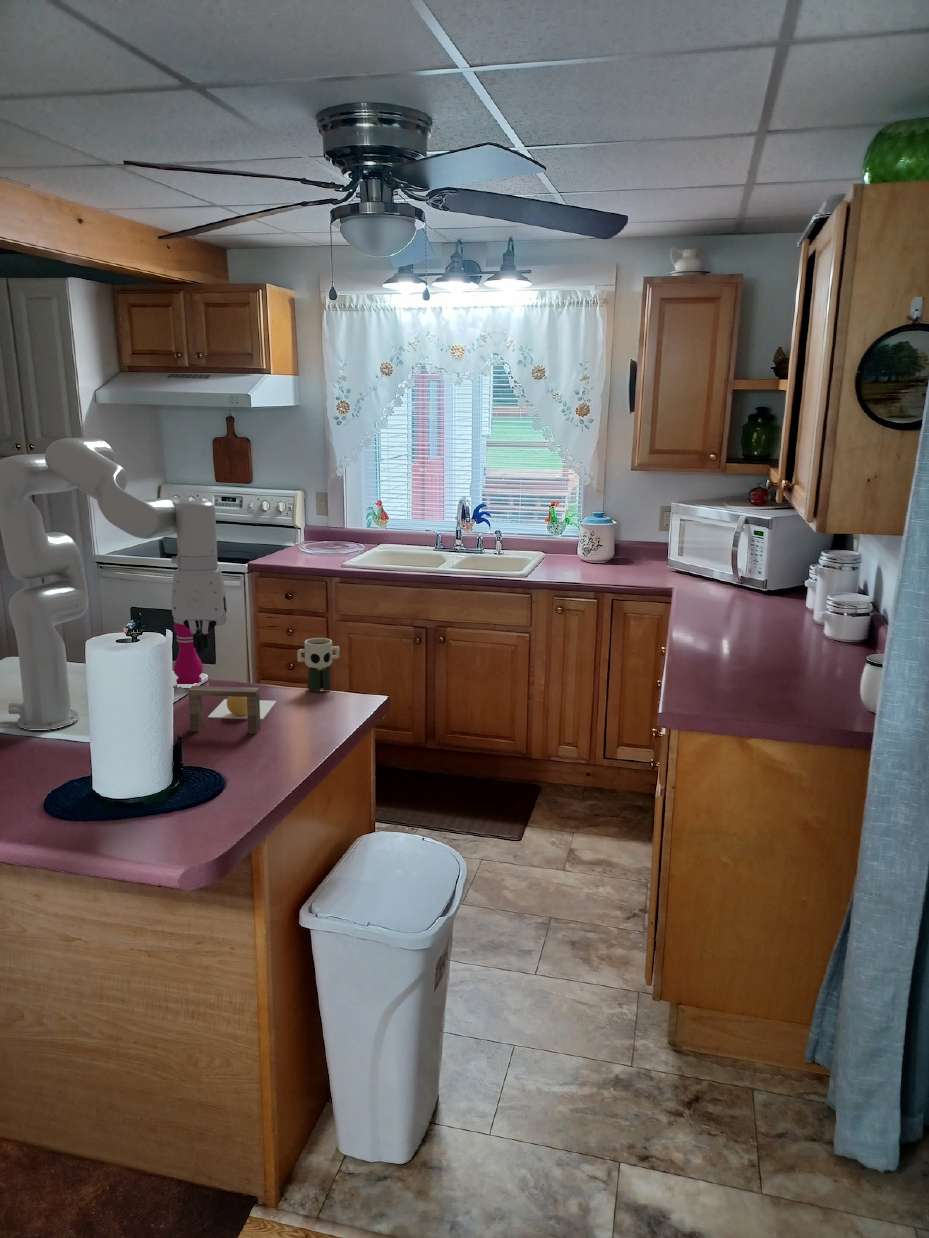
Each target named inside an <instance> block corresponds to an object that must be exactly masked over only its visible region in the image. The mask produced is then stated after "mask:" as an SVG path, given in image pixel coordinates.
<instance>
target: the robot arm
mask: <svg viewBox="0 0 929 1238" xmlns="http://www.w3.org/2000/svg"><path fill="white" fill-rule="evenodd" d="M127 484H128V474H127V471H126V469H125V468H124V467H123V466H121V465H120V464H118V463H116V455H115V453H114V450H113V448H112V447H111V446H110V445H109V444H108V443H107V442H106V441H104V440H103V439H102V438H101V439H100V438H98V437H65V438H59V439H58V440H55V441H53V442H51V443H50V445H48V446H47V449H46V450H45V453H31V454H30V453H29V454H18V455H11V456H8V457H5V458H2V459H0V534H1V540H2V544H3V549H4V554H5V558H6V562H7V566H8V569H9V572H10V573H11V575H12V576H13V577H14V578H16V579H18V580H21V581H30V580H31V581H32V580H37V579H43V578H46V577H47V578H48V577H49V580H50V581H49V582H44V583H38V584H35V585H30V586H27V587H24V588H22V589H19V590H17V591H16V592H15V593H14V594H13V595H12V596H11V598H10V599H9V602H8V613H9V617H10V620H11V623H12V626H13V629H14V633H15V639H16V644H17V652H18V662H19V669H20V670H19V671H20V681H21V691H22V693H21V694H22V701H23V703H19V702H10V703H9V704H8V708H7V709H8V710H7V711H8V714H10V715H16V714H17V715H19V718H18V719H17V726H18V725H19V726H21V727H23V728H26V729H52V728H57V727H60V726H66V725H68V724H70V723H71V722H74V721H75V720H76V719H78V717H79V718H80V716H79V713H78V711H76V710H74V709H71V697H70V686H69V685H70V684H69V674H68V661H67V653H66V651H67V650H66V644H65V642H64V640H63V639H64V638H63V637H62V636H61V634H60V633H59V632H58V630H57V628H56V626H57V625H59V624H63V623H67V622H70V621H74V620H77V619H79V618H81V617H82V616H84V615H85V614H86V612H87V610H88V608H89V601H90V600H89V599H90V597H89V592H88V586H87V580H86V575H85V568H84V565H83V560H82V555H81V551H80V548H79V547H78V544H77V543H76V542H75V540H74V539H73V538H72V537H71V536H70V535H68V534H66V533H64V532H59V531H52V532H46V529H45V526H44V520H43V516H42V514H41V511H40V509H39V508H38V507H37V505H36V504H35V502H34V501H33V500H32V499H30V498H29V497H30V496H33V495H43V494H56V493H64V492H68V491H72V490H75V489H78V490H80V491H81V492H83V493H84V494H86V495H88V496H90V497H91V498H93V499H94V500H96V502H97V506H98V508H99V510H100V511H101V512H100V513H102V516H103V517H104V518H105V519H106V520H107V521H108V522H109V523H110V524H112V525H113V526H114V527H117V528H119V530H121V531H123V532H125V533H127V534H129V535H130V536H132V537H135V538H137V539H143V540H148V539H153V538H154V539H155V538H159V537H166V536H172V535H176V542H177V555H176V556H172V557H171V563H172V564H175V565H177V569H175V570H174V572H173V576H172V577H173V579H172V588H171V614H172V617H173V623H179V624H182V625H185V626H186V627H187V628H188V629H189V630H190V632H191V633H192V634H193V646H194V648H195V649H196V653H197V654H199V653H201V654H205V653H206V652H207V651H209V649H210V647H211V631H212V630H213V629H214V628H215V627H216V626H217V627H218V626H222V625H226V624H227V623H228V621H229V620H228V617H227V612H228V605H227V604H228V603H227V593H226V588H225V582H224V576H223V572H222V570H221V569H220V568H218V567H219V565H218V564H219V563H218V546H217V545H218V544H217V543H218V542H217V541H218V540H217V522H216V521H217V517H216V514H217V513H216V507H215V505H214V504H213V503H212V502H210V501H208V500H188V499H185V498H183V497H182V498H181V497H177V496H172V497H171V496H169V497H159V498H148V499H142V500H141V499H139V498H138V497H135V496H134V495H132V494H131V493H129V492H127V491H125V490H126V487H127ZM200 621H202V626H201V623H200ZM78 720H79V719H78ZM19 726H18V727H19Z"/></svg>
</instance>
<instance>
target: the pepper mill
mask: <svg viewBox="0 0 929 1238" xmlns="http://www.w3.org/2000/svg"><path fill="white" fill-rule="evenodd" d="M173 629H174V632H175V633H176V634H177V635H176V642H177V643H178V647H179V648H178V654H177V658H176V659H175V662H174V665H173V673H174V675H175V676H176V677H177V678H176V680H175V681H176V682H177V684H194V683H199V682H201V681H203V680H202V677H201V676H200V675H202V673H203V671H204V666H203V663H202V660H201V658H200V657H199V655H198V653H196V648H194V646H193V634H192V633H191V632H190V630H189V629H188V628H187V627H186V626H185V625H182V624H179V623H175V622H173ZM177 684H176V685H177Z"/></svg>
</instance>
